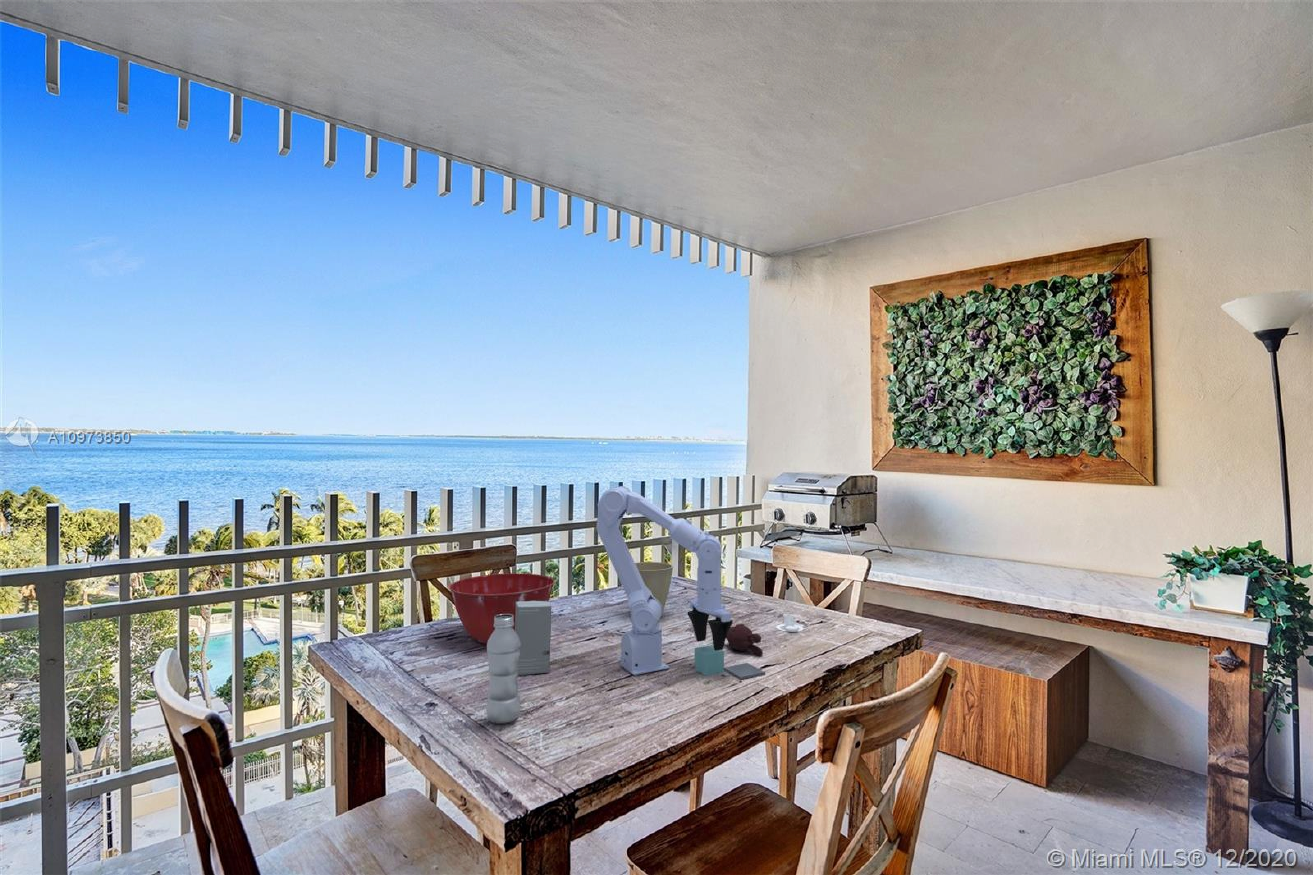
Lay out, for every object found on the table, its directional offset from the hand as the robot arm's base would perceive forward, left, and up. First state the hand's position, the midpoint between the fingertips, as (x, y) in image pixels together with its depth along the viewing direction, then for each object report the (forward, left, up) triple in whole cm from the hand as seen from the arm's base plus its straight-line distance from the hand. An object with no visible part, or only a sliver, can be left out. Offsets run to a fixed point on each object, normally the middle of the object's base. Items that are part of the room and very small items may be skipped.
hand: (709, 645), depth 145 cm
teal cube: (0, 0, -6) cm, 6 cm away
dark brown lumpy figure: (+15, +9, -6) cm, 19 cm away
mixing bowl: (-37, +48, -6) cm, 61 cm away
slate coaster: (+6, -5, -6) cm, 10 cm away
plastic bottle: (-50, -4, -6) cm, 51 cm away
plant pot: (+9, +48, -6) cm, 49 cm away
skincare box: (-37, +20, -6) cm, 43 cm away
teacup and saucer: (+37, +18, -7) cm, 42 cm away
